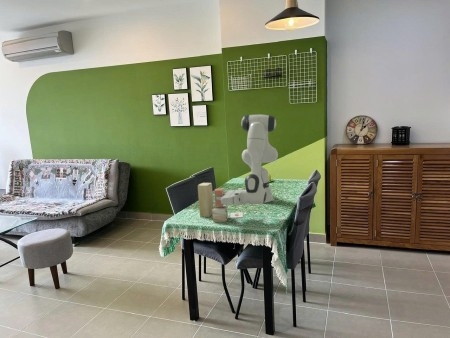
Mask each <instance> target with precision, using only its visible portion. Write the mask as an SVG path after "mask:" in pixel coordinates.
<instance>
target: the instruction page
mask: <svg viewBox="0 0 450 338" xmlns="http://www.w3.org/2000/svg"><path fill="white" fill-rule="evenodd" d="M229 216H230V217H229V218H231V219H236V218H244V213H243V211H238V212H230V215H229Z"/></svg>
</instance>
